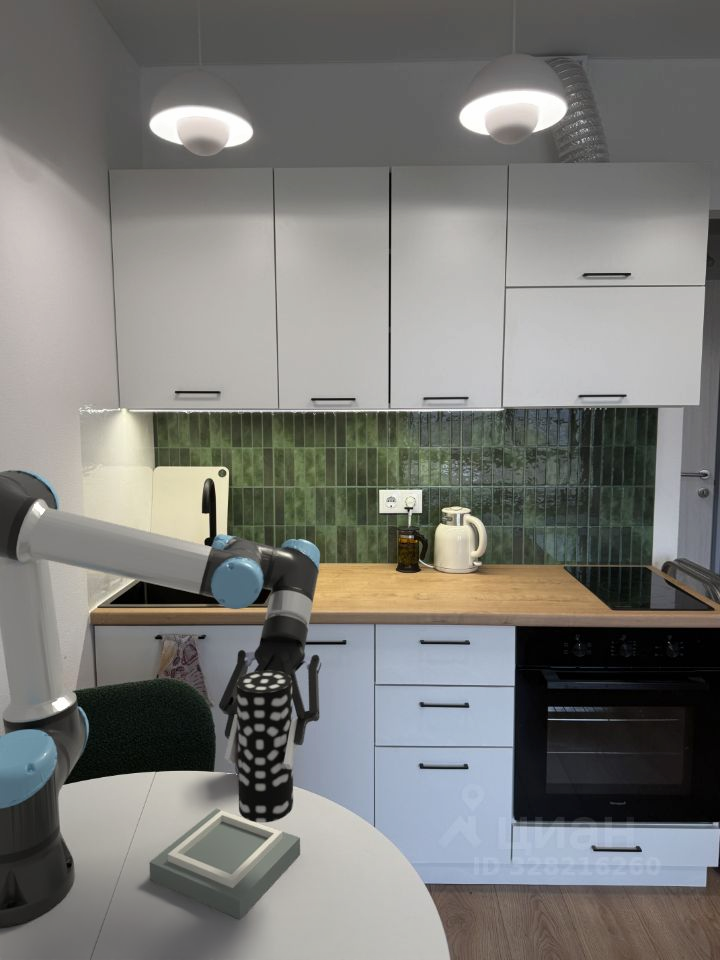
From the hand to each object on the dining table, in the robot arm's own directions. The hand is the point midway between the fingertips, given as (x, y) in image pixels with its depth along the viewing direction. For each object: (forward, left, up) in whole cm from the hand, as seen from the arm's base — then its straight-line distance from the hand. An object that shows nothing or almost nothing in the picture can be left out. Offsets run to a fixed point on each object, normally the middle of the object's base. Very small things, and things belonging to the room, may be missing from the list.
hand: (258, 763), depth 96 cm
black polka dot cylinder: (-1, +3, -9) cm, 9 cm away
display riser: (-10, +4, -22) cm, 25 cm away
